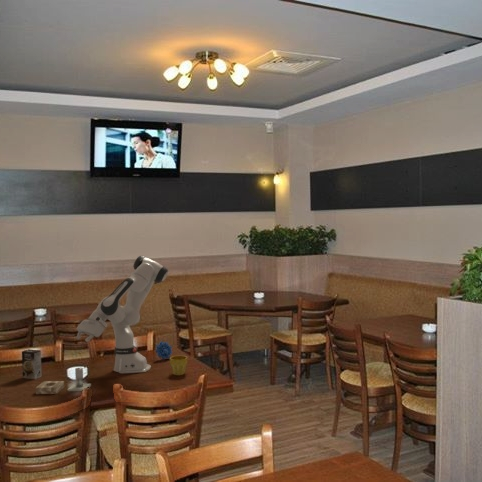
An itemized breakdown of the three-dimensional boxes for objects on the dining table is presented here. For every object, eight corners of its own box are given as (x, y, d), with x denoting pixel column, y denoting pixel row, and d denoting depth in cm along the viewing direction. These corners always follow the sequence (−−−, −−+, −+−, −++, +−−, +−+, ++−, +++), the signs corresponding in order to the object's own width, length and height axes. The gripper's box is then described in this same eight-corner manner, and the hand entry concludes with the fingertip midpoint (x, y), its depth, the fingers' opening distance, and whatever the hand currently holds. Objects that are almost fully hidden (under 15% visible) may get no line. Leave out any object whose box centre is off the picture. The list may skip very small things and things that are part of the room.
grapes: (158, 362, 374) (157, 343, 373) (154, 359, 380) (153, 341, 379) (174, 359, 380) (174, 341, 379) (170, 357, 385) (170, 339, 385)
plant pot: (187, 375, 342) (187, 359, 341) (169, 376, 341) (169, 360, 341) (187, 370, 352) (187, 354, 352) (170, 371, 352) (170, 355, 351)
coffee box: (22, 378, 345) (21, 351, 344) (29, 375, 351) (28, 348, 350) (34, 379, 342) (33, 352, 341) (42, 376, 348) (41, 349, 347)
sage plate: (91, 385, 328) (91, 383, 328) (85, 391, 318) (85, 389, 318) (73, 385, 329) (73, 383, 328) (67, 391, 319) (67, 389, 318)
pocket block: (64, 387, 326) (64, 381, 325) (56, 393, 314) (56, 387, 314) (44, 387, 326) (44, 381, 326) (36, 393, 315) (35, 387, 315)
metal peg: (84, 385, 325) (83, 367, 324) (81, 387, 321) (81, 369, 320) (77, 385, 325) (76, 367, 325) (74, 387, 321) (74, 369, 321)
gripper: (83, 314, 343) (68, 334, 336) (102, 319, 329) (87, 339, 322) (89, 321, 346) (75, 340, 340) (109, 325, 332) (95, 345, 326)
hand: (81, 339), depth 331 cm, fingers open, 8 cm apart
